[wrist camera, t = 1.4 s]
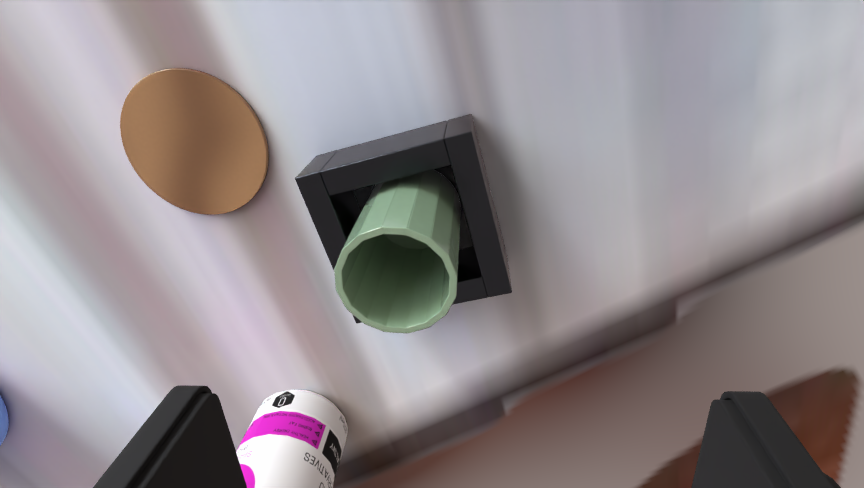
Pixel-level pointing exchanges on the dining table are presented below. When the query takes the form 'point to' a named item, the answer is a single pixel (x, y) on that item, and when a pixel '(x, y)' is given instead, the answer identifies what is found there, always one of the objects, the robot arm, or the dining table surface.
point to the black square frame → (403, 156)
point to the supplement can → (293, 442)
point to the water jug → (3, 420)
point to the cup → (403, 254)
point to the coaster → (194, 141)
